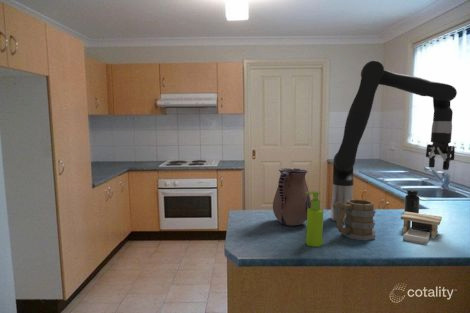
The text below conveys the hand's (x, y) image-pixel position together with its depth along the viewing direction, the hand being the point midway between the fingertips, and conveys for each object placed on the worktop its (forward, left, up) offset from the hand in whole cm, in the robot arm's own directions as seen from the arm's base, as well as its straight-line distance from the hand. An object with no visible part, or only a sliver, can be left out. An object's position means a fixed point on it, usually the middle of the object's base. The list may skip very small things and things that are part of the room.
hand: (438, 168), depth 145 cm
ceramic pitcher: (-64, -5, -27) cm, 70 cm away
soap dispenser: (-57, -30, -27) cm, 70 cm away
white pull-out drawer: (-14, -16, -27) cm, 34 cm away
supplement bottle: (+1, +26, -27) cm, 38 cm away
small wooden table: (-9, -8, -27) cm, 29 cm away
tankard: (-40, -18, -27) cm, 52 cm away
